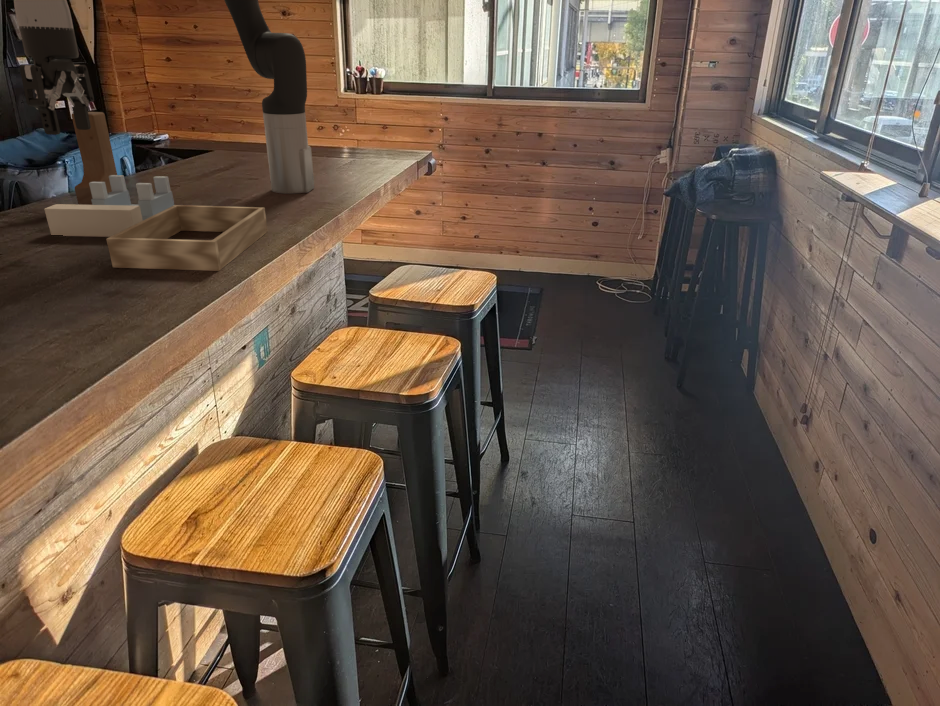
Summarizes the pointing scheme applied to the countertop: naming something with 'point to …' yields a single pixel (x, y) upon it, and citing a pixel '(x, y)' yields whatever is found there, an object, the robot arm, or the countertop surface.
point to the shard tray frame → (156, 251)
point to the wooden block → (94, 156)
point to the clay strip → (91, 219)
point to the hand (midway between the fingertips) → (69, 131)
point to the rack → (147, 199)
